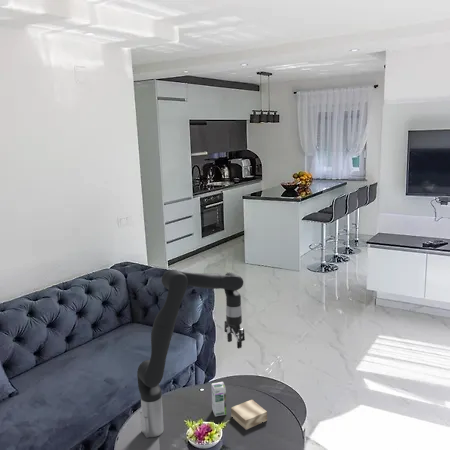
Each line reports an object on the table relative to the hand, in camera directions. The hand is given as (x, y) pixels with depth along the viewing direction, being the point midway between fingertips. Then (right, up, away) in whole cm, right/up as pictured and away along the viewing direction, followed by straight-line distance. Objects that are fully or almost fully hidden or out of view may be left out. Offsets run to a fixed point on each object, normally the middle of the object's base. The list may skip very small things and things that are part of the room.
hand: (234, 344), depth 226 cm
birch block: (+7, -32, -10) cm, 35 cm away
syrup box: (-7, -31, -5) cm, 33 cm away
